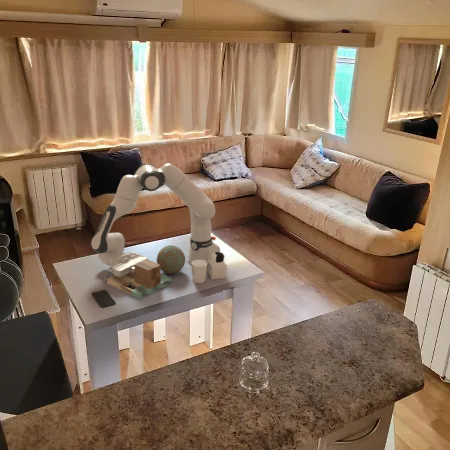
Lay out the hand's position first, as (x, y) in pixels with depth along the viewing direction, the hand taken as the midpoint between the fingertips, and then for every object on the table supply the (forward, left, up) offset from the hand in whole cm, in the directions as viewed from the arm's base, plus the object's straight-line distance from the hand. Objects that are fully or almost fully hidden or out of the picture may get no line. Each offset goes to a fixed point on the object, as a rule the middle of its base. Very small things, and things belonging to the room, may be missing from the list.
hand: (140, 270), depth 234 cm
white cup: (-22, +20, -8) cm, 31 cm away
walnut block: (0, +5, -5) cm, 7 cm away
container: (-32, +24, -8) cm, 41 cm away
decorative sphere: (-19, +3, -8) cm, 21 cm away
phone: (+22, -3, -8) cm, 24 cm away
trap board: (0, -1, -8) cm, 8 cm away
